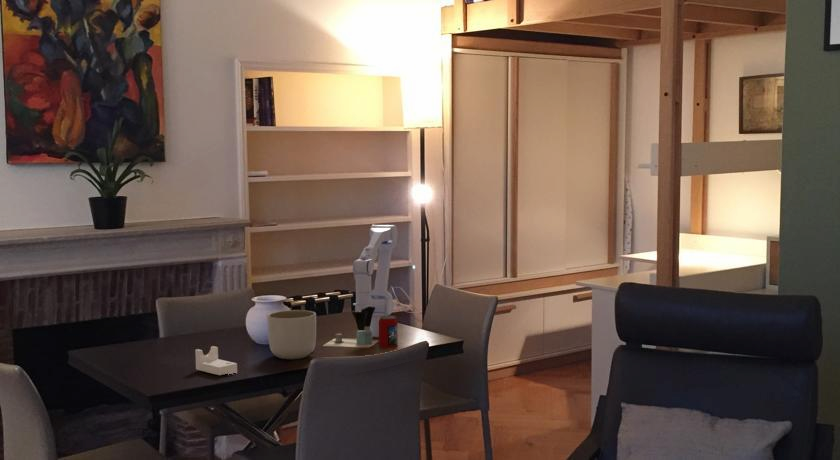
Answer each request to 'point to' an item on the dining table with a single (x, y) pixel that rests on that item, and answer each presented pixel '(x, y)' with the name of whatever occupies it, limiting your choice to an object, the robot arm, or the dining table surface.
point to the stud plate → (347, 342)
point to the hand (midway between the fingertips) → (364, 328)
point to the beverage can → (388, 332)
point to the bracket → (214, 363)
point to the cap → (364, 337)
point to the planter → (292, 333)
